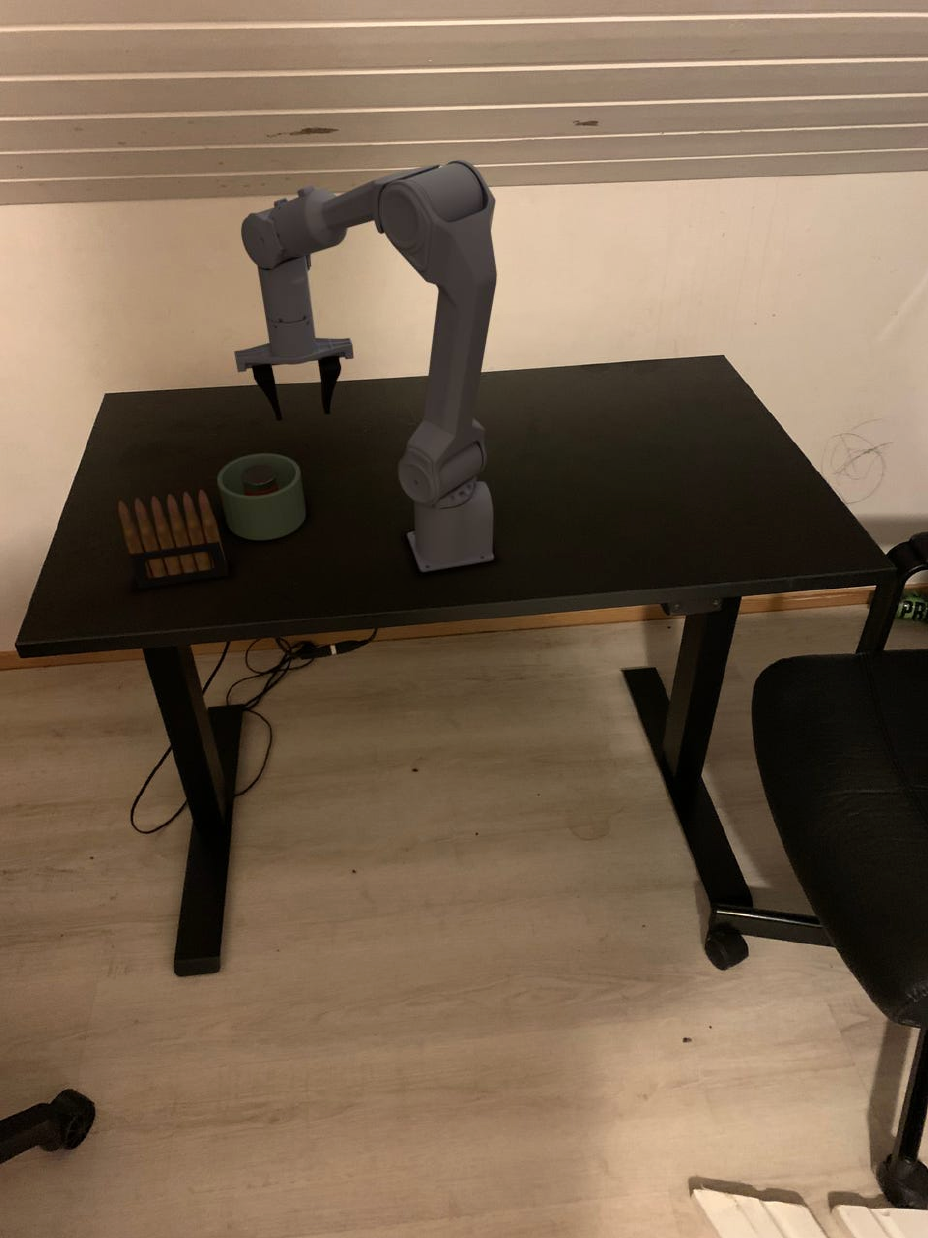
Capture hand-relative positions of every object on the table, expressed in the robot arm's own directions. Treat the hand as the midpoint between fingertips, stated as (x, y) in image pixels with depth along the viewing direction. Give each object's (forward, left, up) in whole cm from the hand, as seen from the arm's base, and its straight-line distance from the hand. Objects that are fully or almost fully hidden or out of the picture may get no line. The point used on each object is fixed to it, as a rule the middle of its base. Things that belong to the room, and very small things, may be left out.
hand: (302, 413), depth 114 cm
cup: (+7, +7, -10) cm, 14 cm away
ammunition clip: (+18, +17, -11) cm, 27 cm away
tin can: (+7, +7, -10) cm, 14 cm away
